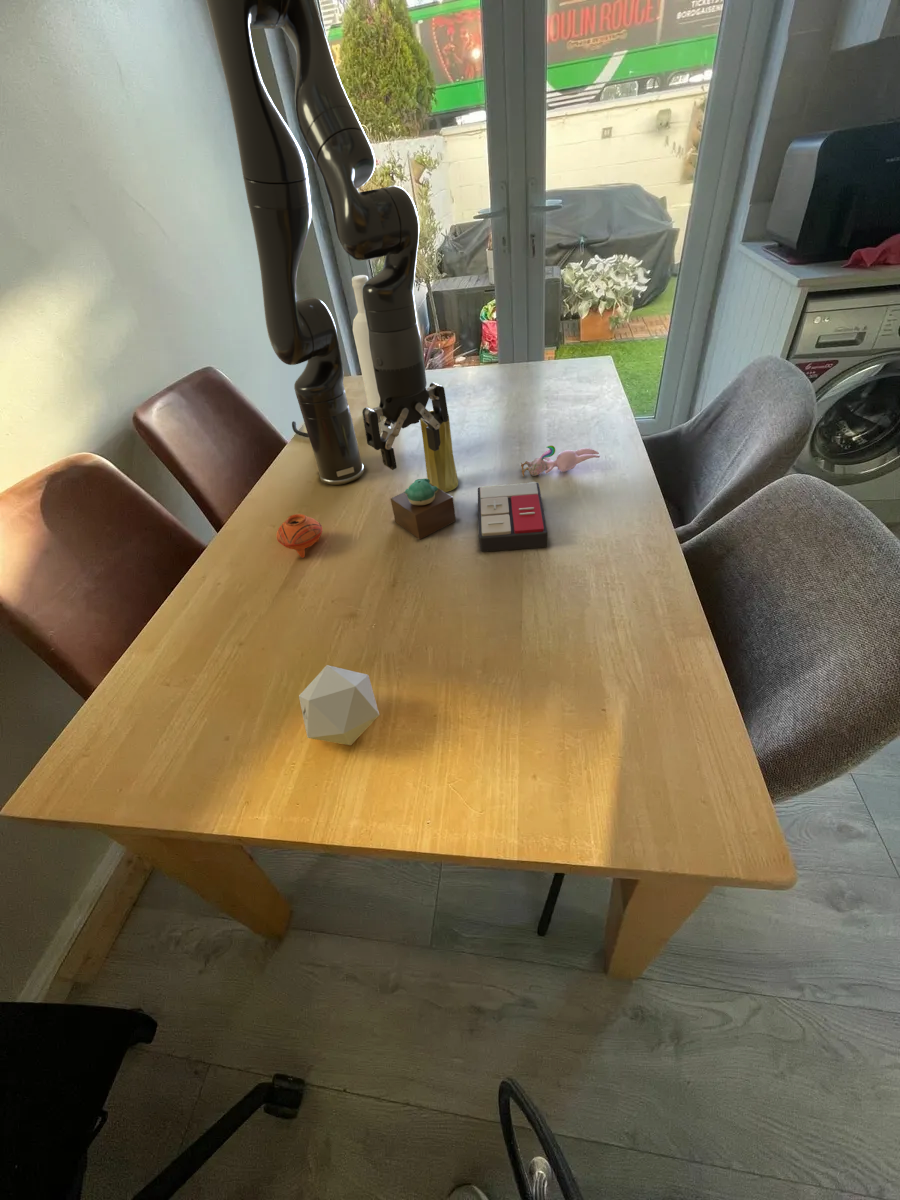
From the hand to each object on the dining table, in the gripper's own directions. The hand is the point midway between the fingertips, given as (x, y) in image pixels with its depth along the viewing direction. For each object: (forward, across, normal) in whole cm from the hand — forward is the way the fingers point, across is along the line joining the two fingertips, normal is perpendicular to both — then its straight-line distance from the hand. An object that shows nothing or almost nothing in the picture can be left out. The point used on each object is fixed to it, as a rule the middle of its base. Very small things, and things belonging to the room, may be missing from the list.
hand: (413, 458), depth 92 cm
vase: (+13, -10, -8) cm, 18 cm away
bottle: (+14, -23, -51) cm, 57 cm away
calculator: (+12, -10, +12) cm, 20 cm away
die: (+12, +33, +31) cm, 46 cm away
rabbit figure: (+12, -29, +5) cm, 32 cm away
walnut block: (+12, 0, 0) cm, 13 cm away
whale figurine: (+8, 0, 0) cm, 8 cm away
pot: (+13, +20, -8) cm, 25 cm away
